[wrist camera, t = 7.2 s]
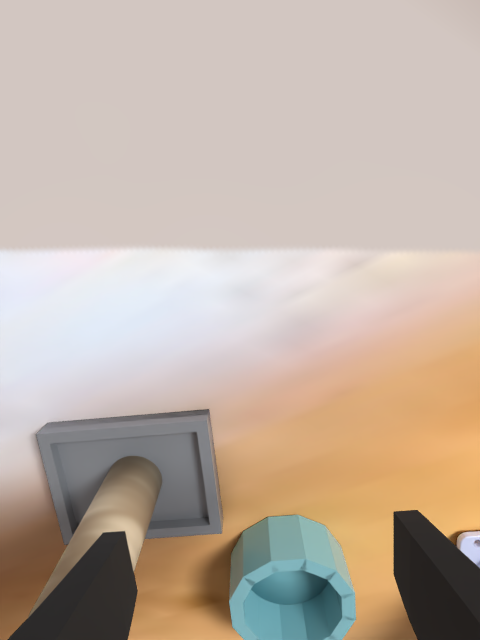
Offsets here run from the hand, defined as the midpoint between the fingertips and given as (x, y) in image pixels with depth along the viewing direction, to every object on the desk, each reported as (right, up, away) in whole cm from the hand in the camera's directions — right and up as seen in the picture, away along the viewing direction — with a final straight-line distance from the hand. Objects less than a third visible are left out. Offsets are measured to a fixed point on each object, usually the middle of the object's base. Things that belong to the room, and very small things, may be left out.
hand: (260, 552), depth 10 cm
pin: (-6, -3, +11) cm, 13 cm away
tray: (-6, -2, +11) cm, 13 cm away
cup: (+2, -8, +13) cm, 16 cm away
